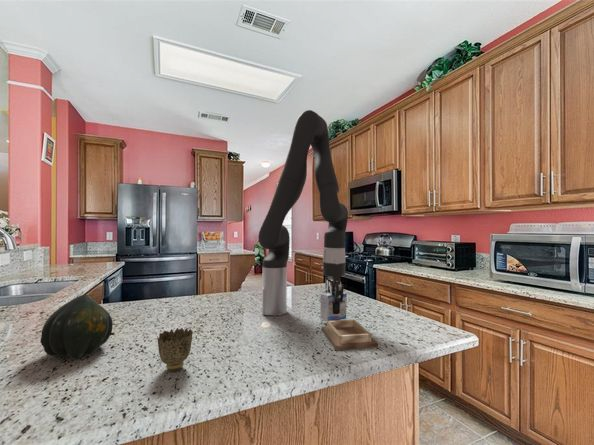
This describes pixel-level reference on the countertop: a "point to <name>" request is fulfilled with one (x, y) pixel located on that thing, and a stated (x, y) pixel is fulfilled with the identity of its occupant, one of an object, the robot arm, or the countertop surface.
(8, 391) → the countertop surface
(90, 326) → the squash
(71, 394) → the countertop surface
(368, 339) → the holder
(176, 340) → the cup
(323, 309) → the medicine box
